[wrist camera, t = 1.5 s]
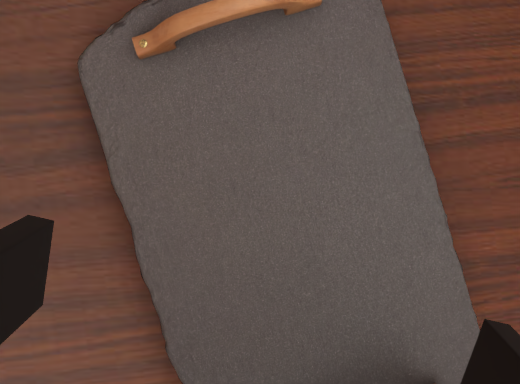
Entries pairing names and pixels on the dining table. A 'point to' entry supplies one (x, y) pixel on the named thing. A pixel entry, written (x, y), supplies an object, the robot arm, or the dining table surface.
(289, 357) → the serving tray
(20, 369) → the dining table surface
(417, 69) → the dining table surface
